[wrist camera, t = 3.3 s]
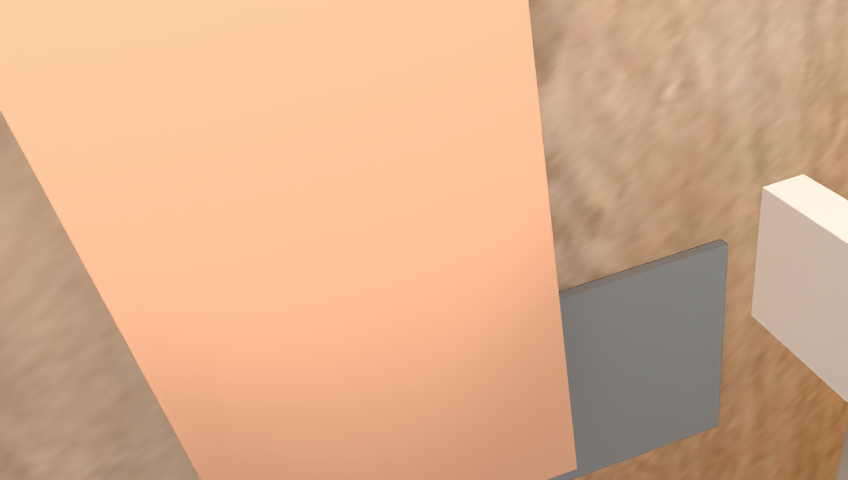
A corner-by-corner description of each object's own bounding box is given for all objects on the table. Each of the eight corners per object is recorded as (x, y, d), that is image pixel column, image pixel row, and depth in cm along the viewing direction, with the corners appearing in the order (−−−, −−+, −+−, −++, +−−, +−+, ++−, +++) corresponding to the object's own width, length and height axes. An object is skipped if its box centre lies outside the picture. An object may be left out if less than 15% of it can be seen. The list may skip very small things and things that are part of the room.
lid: (252, 522, 23) (257, 585, 21) (-167, -306, 12) (-240, -334, 10) (547, 418, 24) (577, 468, 22) (437, -418, 13) (479, -461, 11)
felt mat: (326, 560, 36) (328, 568, 36) (253, 392, 30) (254, 400, 30) (712, 419, 39) (718, 425, 39) (721, 238, 33) (727, 244, 32)
